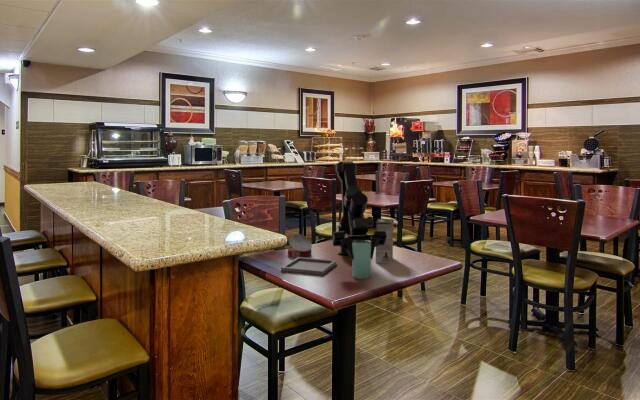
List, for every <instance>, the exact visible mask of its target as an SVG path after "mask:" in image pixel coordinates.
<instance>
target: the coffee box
mask: <svg viewBox="0 0 640 400" xmlns="http://www.w3.org/2000/svg"><path fill="white" fill-rule="evenodd" d="M375 231H385V232H386V235H387V237H386V241H385V244H384V245H378V246H377V247H375V263H376V264H392V263H393V259H394V256H393V255H394V254H393V253H394V218H377V220H376V221H375Z"/></svg>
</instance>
